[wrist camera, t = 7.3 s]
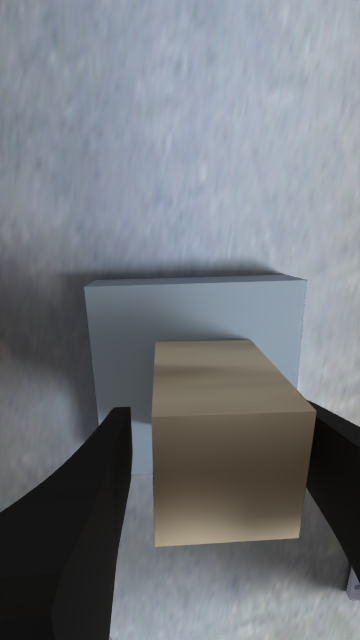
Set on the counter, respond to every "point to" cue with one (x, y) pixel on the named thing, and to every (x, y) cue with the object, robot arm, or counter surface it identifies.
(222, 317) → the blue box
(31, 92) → the counter surface
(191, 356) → the birch block
